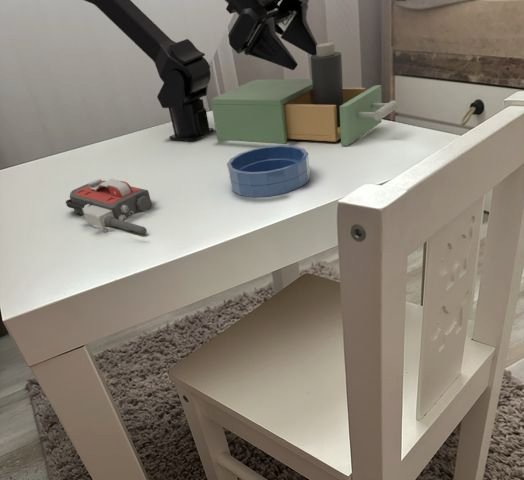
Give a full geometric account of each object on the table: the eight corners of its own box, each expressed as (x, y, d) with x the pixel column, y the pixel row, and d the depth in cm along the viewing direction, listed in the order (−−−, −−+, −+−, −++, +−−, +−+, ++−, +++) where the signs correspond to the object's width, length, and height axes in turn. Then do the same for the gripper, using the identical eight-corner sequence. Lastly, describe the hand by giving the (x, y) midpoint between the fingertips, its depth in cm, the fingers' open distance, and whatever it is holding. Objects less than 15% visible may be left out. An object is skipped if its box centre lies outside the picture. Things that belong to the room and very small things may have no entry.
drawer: (405, 123, 88) (406, 85, 84) (372, 147, 80) (372, 106, 77) (313, 119, 97) (310, 85, 93) (276, 141, 89) (272, 104, 86)
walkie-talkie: (56, 217, 77) (141, 245, 66) (45, 188, 74) (131, 211, 63) (105, 195, 82) (191, 217, 70) (95, 167, 79) (184, 185, 68)
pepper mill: (317, 131, 87) (311, 49, 80) (313, 123, 91) (307, 44, 84) (346, 126, 87) (343, 43, 80) (341, 119, 91) (337, 39, 83)
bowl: (216, 197, 75) (211, 169, 73) (261, 169, 82) (257, 143, 79) (282, 206, 69) (278, 176, 67) (324, 175, 76) (322, 147, 74)
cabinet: (325, 124, 97) (322, 78, 92) (285, 148, 88) (280, 100, 84) (260, 121, 104) (254, 79, 100) (218, 143, 96) (210, 99, 91)
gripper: (233, -62, 70) (315, 27, 72) (292, -70, 83) (360, 6, 85) (196, 12, 78) (271, 91, 80) (255, -5, 91) (318, 63, 93)
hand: (307, 60), depth 84 cm, fingers open, 9 cm apart
